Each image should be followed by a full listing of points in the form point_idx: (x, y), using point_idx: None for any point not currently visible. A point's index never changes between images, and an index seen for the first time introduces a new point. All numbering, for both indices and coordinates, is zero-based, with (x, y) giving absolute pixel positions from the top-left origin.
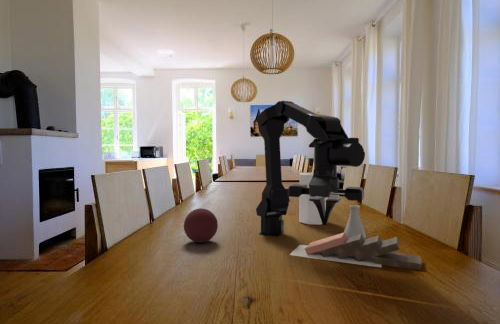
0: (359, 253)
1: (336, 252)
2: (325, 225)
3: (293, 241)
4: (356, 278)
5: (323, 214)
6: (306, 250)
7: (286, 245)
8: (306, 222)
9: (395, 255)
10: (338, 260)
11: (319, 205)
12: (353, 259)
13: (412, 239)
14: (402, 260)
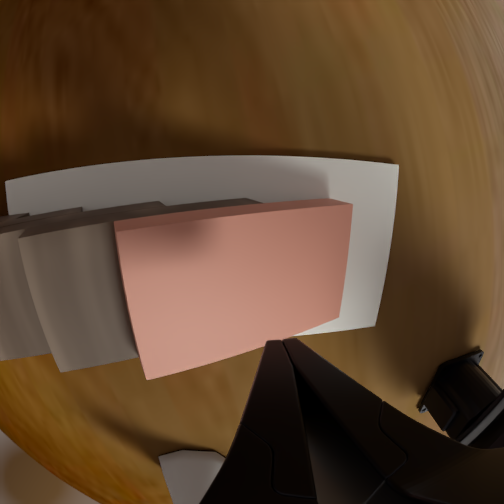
0: (57, 216)
1: (171, 205)
2: (271, 340)
3: (394, 360)
4: (76, 30)
5: (320, 408)
6: (340, 201)
7: (418, 304)
8: None
9: None
10: (161, 175)
11: (432, 474)
12: None
13: (68, 467)
14: None
